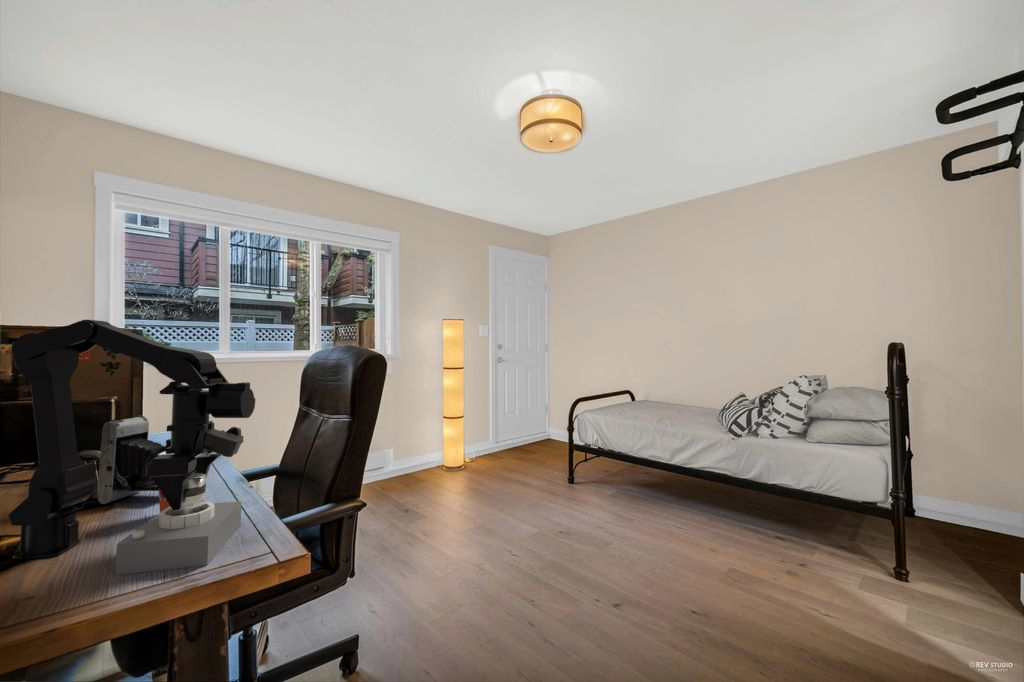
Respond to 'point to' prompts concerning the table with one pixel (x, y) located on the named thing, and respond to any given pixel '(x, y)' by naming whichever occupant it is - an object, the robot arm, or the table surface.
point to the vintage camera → (126, 459)
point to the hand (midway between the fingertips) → (187, 501)
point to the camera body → (178, 539)
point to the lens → (192, 496)
